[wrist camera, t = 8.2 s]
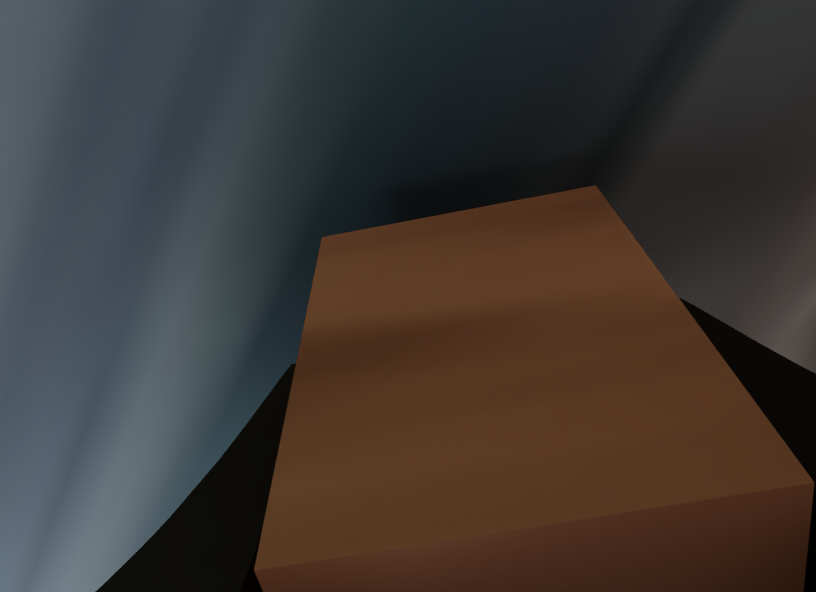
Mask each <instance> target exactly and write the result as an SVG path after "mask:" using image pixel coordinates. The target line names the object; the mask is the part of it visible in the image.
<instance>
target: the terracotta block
mask: <svg viewBox="0 0 816 592" xmlns="http://www.w3.org/2000/svg"><path fill="white" fill-rule="evenodd" d="M813 492H814V481H813V480H812V479H811V477H810V476H809V474H808V473H807V472H806V470H805V469H804V468H803V466H802V465H801V464H800V462H799V461H798V460H797V458H796V457H795V455H794V454H793V453H792V451H791V450H790V449H789V447H788V446H787V445H786V443H785V442H784V440H783V439H782V438H781V436H780V435H779V434H778V432H777V431H776V430H775V428H774V427H773V426H772V424H771V423H770V421H769V420H768V419H767V417H766V416H765V415H764V413H763V412H762V411H761V409H760V408H759V406H758V405H757V404H756V402H755V401H754V400H753V398H752V397H751V396H750V394H749V393H748V392H747V390H746V389H745V387H744V386H743V385H742V383H741V382H740V381H739V379H738V378H737V377H736V375H735V374H734V372H733V371H732V370H731V368H730V367H729V366H728V364H727V363H726V362H725V360H724V359H723V358H722V356H721V355H720V353H719V352H718V351H717V349H716V348H715V347H714V345H713V344H712V343H711V341H710V340H709V338H708V337H707V336H706V334H705V333H704V332H703V330H702V329H701V328H700V326H699V325H698V323H697V322H696V321H695V319H694V318H693V317H692V315H691V314H690V313H689V311H688V310H687V309H686V307H685V306H684V304H683V303H682V302H681V300H680V299H679V298H678V296H677V295H676V294H675V292H674V291H673V289H672V288H671V287H670V285H669V284H668V283H667V281H666V280H665V279H664V277H663V276H662V275H661V273H660V272H659V270H658V269H657V268H656V266H655V265H654V264H653V262H652V261H651V260H650V258H649V257H648V255H647V254H646V253H645V251H644V250H643V249H642V247H641V246H640V245H639V243H638V242H637V241H636V239H635V238H634V236H633V235H632V234H631V232H630V231H629V230H628V228H627V227H626V226H625V224H624V223H623V221H622V220H621V219H620V217H619V216H618V215H617V213H616V212H615V211H614V209H613V208H612V207H611V205H610V204H609V202H608V201H607V200H606V198H605V197H604V196H603V194H602V193H601V192H600V190H599V189H598V187H597V186H596V185H594V186H589V187H584V188H579V189H573V190H568V191H563V192H557V193H552V194H547V195H542V196H536V197H531V198H526V199H521V200H515V201H510V202H505V203H500V204H494V205H489V206H484V207H478V208H473V209H468V210H463V211H457V212H452V213H447V214H442V215H436V216H431V217H426V218H421V219H415V220H410V221H405V222H399V223H394V224H389V225H384V226H378V227H373V228H368V229H363V230H357V231H352V232H347V233H342V234H336V235H331V236H326V237H322V239H321V244H320V249H319V254H318V259H317V264H316V268H315V273H314V278H313V283H312V288H311V293H310V298H309V303H308V308H307V313H306V318H305V322H304V327H303V332H302V337H301V342H300V347H299V352H298V357H297V362H296V367H295V372H294V376H293V381H292V386H291V391H290V396H289V401H288V406H287V411H286V416H285V421H284V425H283V430H282V435H281V440H280V445H279V450H278V455H277V460H276V465H275V470H274V475H273V479H272V484H271V489H270V494H269V499H268V504H267V509H266V514H265V519H264V524H263V529H262V533H261V538H260V543H259V548H258V553H257V558H256V563H255V568H254V572H255V574H256V576H257V579H258V581H259V583H260V586H261V588H262V590H263V592H804V582H805V572H806V562H807V552H808V542H809V532H810V522H811V512H812V502H813Z"/></svg>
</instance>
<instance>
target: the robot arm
mask: <svg viewBox="0 0 816 592" xmlns="http://www.w3.org/2000/svg"><path fill="white" fill-rule="evenodd" d="M678 298H679V297H678ZM679 299H680V300H681V302H682V303H683V304H684V306H685V307H686V309H687V310H688V311H689V313H690V314H691V315H692V317H693V318H694V319H695V321H696V322H697V323H698V325H699V326H700V328H701V329H702V330H703V332H704V333H705V334H706V336H707V337H708V338H709V340H710V341H711V343H712V344H713V345H714V347H715V348H716V349H717V351H718V352H719V353H720V355H721V356H722V358H723V359H724V360H725V362H726V363H727V364H728V366H729V367H730V368H731V370H732V371H733V372H734V374H735V375H736V377H737V378H738V379H739V381H740V382H741V383H742V385H743V386H744V387H745V389H746V390H747V392H748V393H749V394H750V396H751V397H752V398H753V400H754V401H755V402H756V404H757V405H758V406H759V408H760V409H761V411H762V412H763V413H764V415H765V416H766V417H767V419H768V420H769V421H770V423H771V424H772V426H773V427H774V428H775V430H776V431H777V432H778V434H779V435H780V436H781V438H782V439H783V440H784V442H785V443H786V445H787V446H788V447H789V449H790V450H791V451H792V453H793V454H794V455H795V457H796V458H797V460H798V461H799V462H800V464H801V465H802V466H803V468H804V469H805V470H806V472H807V473H808V474H809V476H810V477H811V479H812V480H813V481H814V492H813V502H812V512H811V522H810V532H809V542H808V552H807V562H806V572H805V582H804V592H816V374H815V373H813V372H811V371H809V370H807V369H805V368H803V367H802V366H800V365H798V364H796V363H794V362H792V361H790V360H789V359H787V358H785V357H783V356H781V355H779V354H778V353H776V352H774V351H772V350H770V349H769V348H767V347H765V346H763V345H762V344H760V343H758V342H756V341H754V340H753V339H751V338H749V337H747V336H746V335H744V334H742V333H741V332H739V331H737V330H735V329H734V328H732V327H730V326H728V325H727V324H725V323H723V322H722V321H720V320H718V319H716V318H715V317H713V316H711V315H710V314H708V313H706V312H704V311H703V310H701V309H699V308H697V307H696V306H694V305H692V304H690V303H688V302H687V301H685V300H683V299H681V298H679ZM295 367H296V364H291V366H290V367H289V368H288V369H287V371H286V372H285V373H284V375H283V376H282V377H281V379H280V380H279V381H278V383H277V384H276V385H275V387H274V388H273V389H272V391H271V392H270V393H269V395H268V396H267V397H266V399H265V400H264V401H263V403H262V404H261V406H260V407H259V408H258V410H257V411H256V412H255V414H254V415H253V416H252V418H251V419H250V420H249V422H248V423H247V424H246V426H245V427H244V428H243V430H242V431H241V432H240V434H239V435H238V436H237V437H236V439H235V440H234V441H233V443H232V444H231V445H230V446H229V448H228V449H227V450H226V452H225V453H224V454H223V456H222V457H221V458H220V459H219V461H218V462H217V463H216V464H215V465H214V467H213V468H212V469H211V470H210V471H209V472H208V474H207V475H206V476H205V477H204V478H203V479H202V481H201V482H200V483H199V484H198V485H197V486H196V488H195V489H194V490H193V491H192V492H191V493H190V495H189V496H188V497H187V498H186V499H185V500H184V502H183V503H182V504H181V505H180V506H179V507H178V509H177V510H176V511H175V512H174V513H173V514H172V516H171V517H170V518H169V519H168V520H167V521H166V522H165V523H164V524H163V525H162V526H161V527H160V529H159V530H158V531H157V532H156V533H155V534H154V535H153V536H152V537H151V538H150V539H149V540H148V541H147V542H146V543H145V544H144V545H143V546H142V547H141V548H140V549H139V550H138V551H137V552H136V553H135V554H134V555H133V556H132V557H131V558H130V559H129V560H128V561H127V562H126V563H125V564H124V565H123V566H122V567H121V568H120V569H119V570H118V571H117V572H116V573H115V574H114V575H113V576H112V577H111V578H110V579H109V580H108V581H107V582H106V583H104V584H103V585H102V586H101V587H100V588H99V589H98V590H97V591H96V592H263V590H262V588H261V586H260V583H259V581H258V579H257V576H256V574H255V572H254V568H255V563H256V558H257V553H258V548H259V543H260V538H261V533H262V529H263V524H264V519H265V514H266V509H267V504H268V499H269V494H270V489H271V484H272V479H273V475H274V470H275V465H276V460H277V455H278V450H279V445H280V440H281V435H282V430H283V425H284V421H285V416H286V411H287V406H288V401H289V396H290V391H291V386H292V381H293V376H294V372H295Z"/></svg>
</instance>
